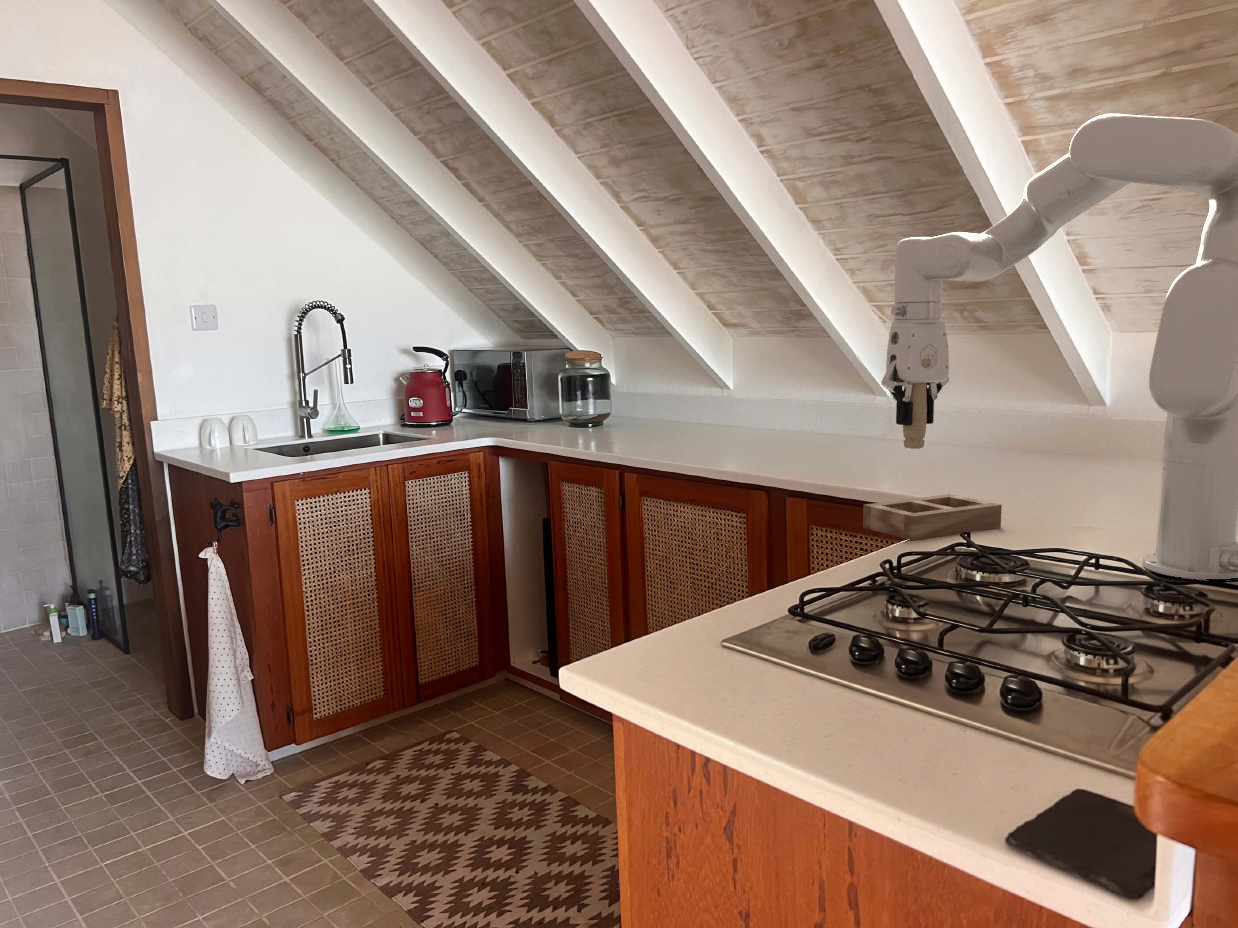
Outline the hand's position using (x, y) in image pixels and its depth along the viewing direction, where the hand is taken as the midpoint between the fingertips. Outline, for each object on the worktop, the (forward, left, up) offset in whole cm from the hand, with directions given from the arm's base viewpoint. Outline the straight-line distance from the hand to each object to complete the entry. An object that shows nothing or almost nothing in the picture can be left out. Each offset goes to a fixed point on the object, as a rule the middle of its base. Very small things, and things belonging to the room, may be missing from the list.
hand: (914, 422), depth 161 cm
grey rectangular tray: (0, -5, -18) cm, 19 cm away
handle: (0, 0, -4) cm, 4 cm away
